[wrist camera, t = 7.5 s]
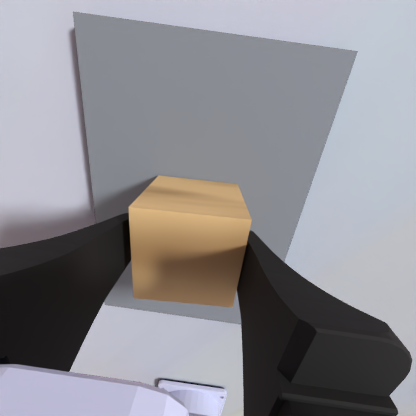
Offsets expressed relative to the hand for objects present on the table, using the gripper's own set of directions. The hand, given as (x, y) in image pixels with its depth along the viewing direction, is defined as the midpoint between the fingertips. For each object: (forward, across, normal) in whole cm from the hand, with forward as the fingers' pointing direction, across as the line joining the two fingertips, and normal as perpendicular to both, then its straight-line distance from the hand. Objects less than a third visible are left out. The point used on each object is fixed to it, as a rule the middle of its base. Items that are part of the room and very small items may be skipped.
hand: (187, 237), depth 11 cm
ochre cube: (+3, 0, 0) cm, 3 cm away
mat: (+4, 0, 0) cm, 4 cm away
